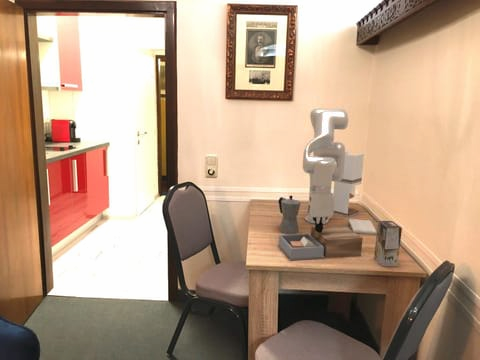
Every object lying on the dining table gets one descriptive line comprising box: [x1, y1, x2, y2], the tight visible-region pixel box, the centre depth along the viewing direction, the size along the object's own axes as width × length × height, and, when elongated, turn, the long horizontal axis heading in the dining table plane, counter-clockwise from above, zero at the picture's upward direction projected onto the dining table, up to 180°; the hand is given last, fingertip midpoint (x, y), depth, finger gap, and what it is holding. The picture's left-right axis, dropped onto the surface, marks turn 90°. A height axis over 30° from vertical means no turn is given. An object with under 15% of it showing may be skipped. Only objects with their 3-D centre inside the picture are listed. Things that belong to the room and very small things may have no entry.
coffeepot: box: [278, 195, 301, 235], centre depth 189 cm, size 15×9×18 cm, turn 34°
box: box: [277, 233, 324, 262], centre depth 163 cm, size 16×14×5 cm
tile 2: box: [300, 237, 316, 247], centre depth 163 cm, size 5×5×2 cm
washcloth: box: [348, 218, 377, 236], centre depth 197 cm, size 12×18×3 cm, turn 173°
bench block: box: [310, 225, 363, 259], centre depth 167 cm, size 16×16×8 cm
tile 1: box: [290, 241, 304, 248], centre depth 165 cm, size 5×5×2 cm
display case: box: [332, 150, 365, 219], centre depth 218 cm, size 11×11×35 cm
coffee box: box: [373, 220, 403, 267], centre depth 155 cm, size 9×6×16 cm
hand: (318, 231), depth 164 cm, fingers closed
